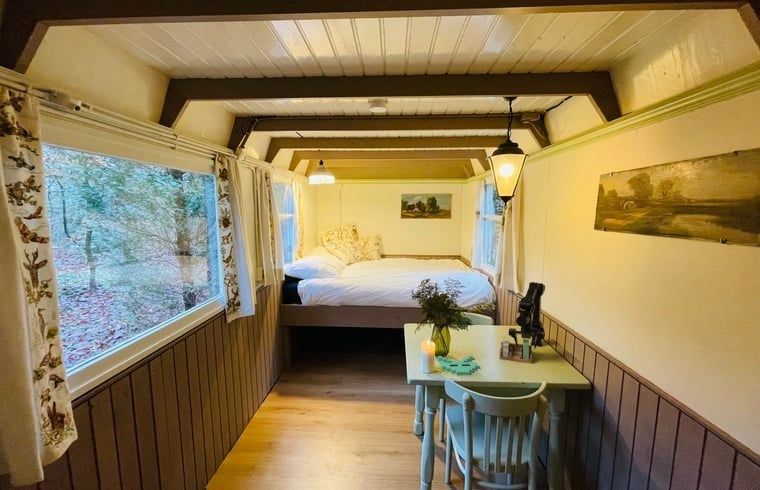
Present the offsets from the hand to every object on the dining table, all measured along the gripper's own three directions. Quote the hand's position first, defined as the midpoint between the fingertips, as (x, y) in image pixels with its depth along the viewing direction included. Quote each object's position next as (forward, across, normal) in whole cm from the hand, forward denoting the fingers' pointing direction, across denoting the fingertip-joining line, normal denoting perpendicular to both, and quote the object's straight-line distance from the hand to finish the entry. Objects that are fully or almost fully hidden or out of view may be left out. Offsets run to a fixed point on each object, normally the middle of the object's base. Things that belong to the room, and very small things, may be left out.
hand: (525, 348), depth 193 cm
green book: (+5, 0, 0) cm, 5 cm away
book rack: (+6, -5, 0) cm, 8 cm away
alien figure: (+7, -34, -24) cm, 42 cm away
